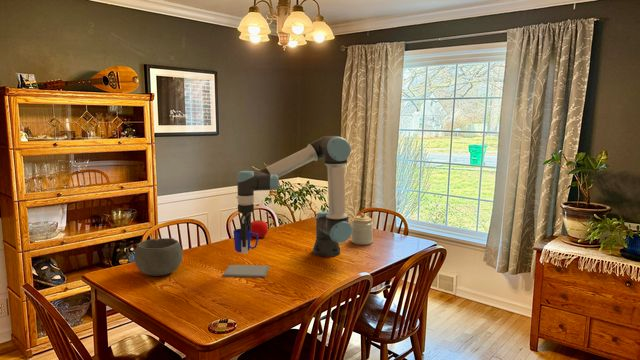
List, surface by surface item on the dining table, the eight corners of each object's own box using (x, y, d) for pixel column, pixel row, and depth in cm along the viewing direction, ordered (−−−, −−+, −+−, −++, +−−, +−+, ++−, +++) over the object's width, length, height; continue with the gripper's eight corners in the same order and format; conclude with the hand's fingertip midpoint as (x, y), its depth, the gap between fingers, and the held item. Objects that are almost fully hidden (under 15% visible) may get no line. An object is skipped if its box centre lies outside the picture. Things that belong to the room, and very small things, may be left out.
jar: (376, 241, 261) (377, 212, 258) (366, 246, 250) (367, 216, 248) (357, 237, 268) (358, 210, 265) (347, 242, 257) (347, 213, 254)
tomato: (266, 239, 262) (266, 222, 261) (246, 239, 262) (246, 222, 261) (269, 234, 273) (269, 218, 272) (250, 234, 274) (249, 217, 272)
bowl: (137, 284, 190) (135, 252, 188) (133, 269, 209) (132, 239, 206) (186, 277, 200) (185, 245, 198) (178, 263, 218) (177, 234, 216)
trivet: (269, 267, 214) (269, 265, 214) (265, 277, 200) (265, 275, 200) (229, 266, 215) (229, 264, 214) (222, 276, 201) (222, 274, 201)
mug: (255, 254, 200) (255, 234, 199) (230, 252, 203) (230, 232, 201) (261, 249, 208) (261, 229, 207) (237, 247, 211) (237, 227, 209)
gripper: (242, 199, 212) (242, 244, 216) (232, 207, 193) (233, 257, 196) (257, 199, 212) (257, 244, 215) (249, 208, 193) (250, 257, 196)
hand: (246, 250), depth 206 cm, fingers closed on mug, 7 cm apart
